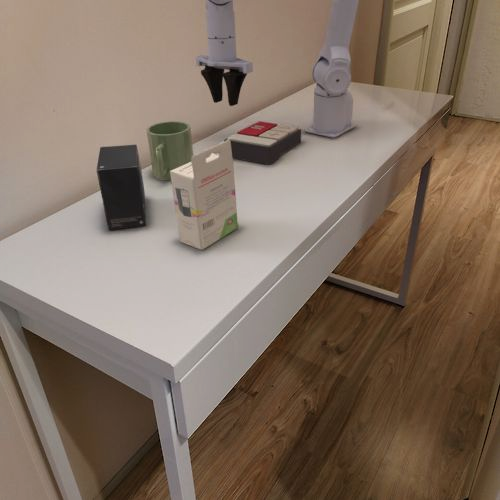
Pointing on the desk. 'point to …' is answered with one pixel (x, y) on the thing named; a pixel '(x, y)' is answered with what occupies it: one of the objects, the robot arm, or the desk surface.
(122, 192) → the small box
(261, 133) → the calculator
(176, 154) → the mug
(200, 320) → the desk surface
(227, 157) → the ink box
